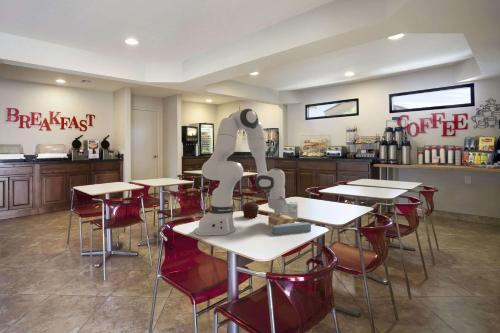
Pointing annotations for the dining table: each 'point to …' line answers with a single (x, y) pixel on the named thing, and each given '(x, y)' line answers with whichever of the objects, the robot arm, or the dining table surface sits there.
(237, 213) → the dining table surface
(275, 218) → the oak block
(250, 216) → the muffin
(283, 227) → the blue-grey bar
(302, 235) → the dining table surface
